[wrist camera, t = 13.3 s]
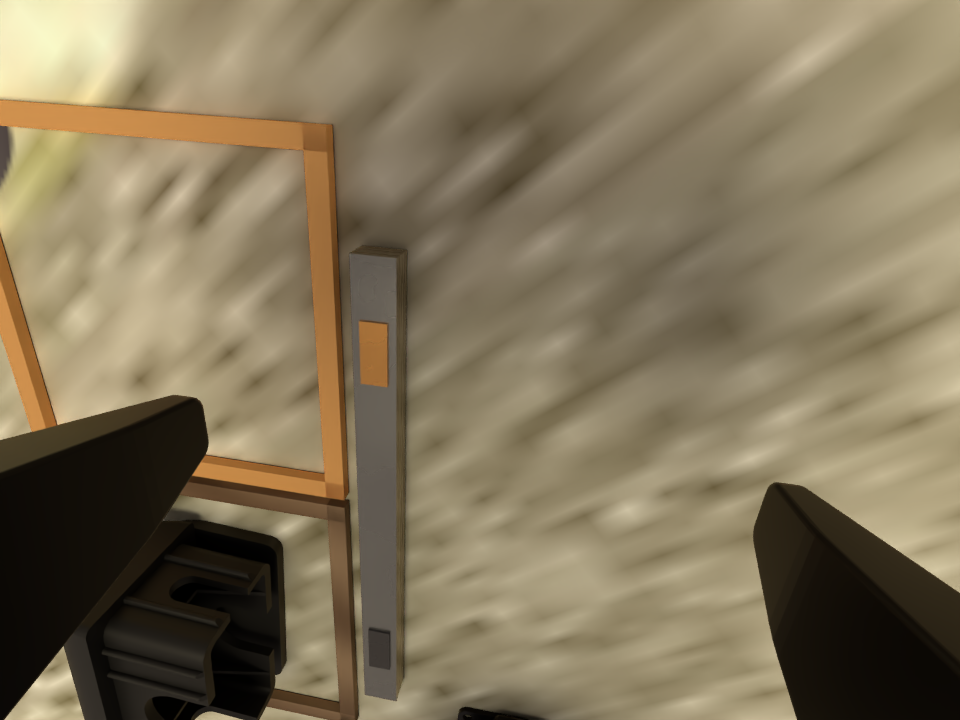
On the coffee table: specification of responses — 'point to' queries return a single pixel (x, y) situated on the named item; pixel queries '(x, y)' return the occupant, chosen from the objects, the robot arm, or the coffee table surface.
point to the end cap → (185, 628)
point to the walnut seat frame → (338, 517)
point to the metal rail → (380, 457)
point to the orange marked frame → (316, 141)
